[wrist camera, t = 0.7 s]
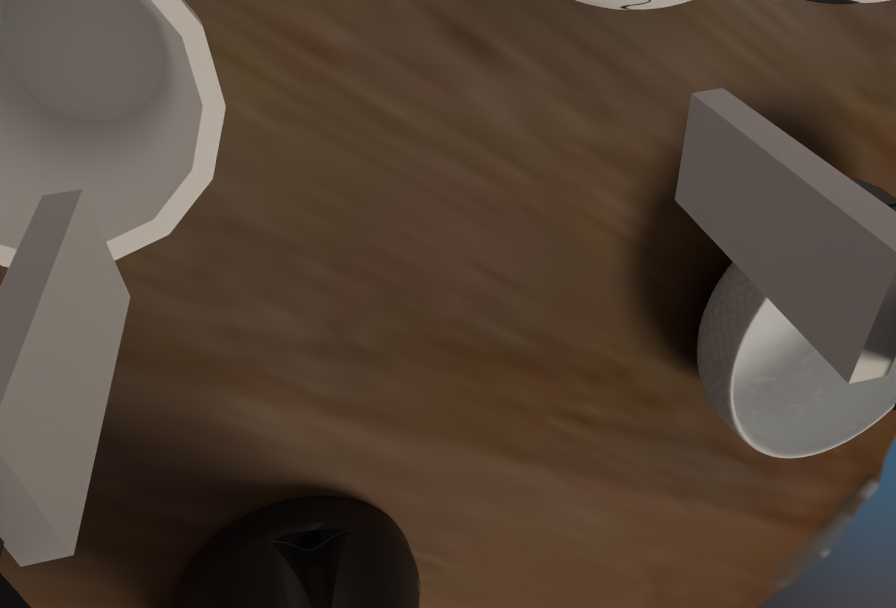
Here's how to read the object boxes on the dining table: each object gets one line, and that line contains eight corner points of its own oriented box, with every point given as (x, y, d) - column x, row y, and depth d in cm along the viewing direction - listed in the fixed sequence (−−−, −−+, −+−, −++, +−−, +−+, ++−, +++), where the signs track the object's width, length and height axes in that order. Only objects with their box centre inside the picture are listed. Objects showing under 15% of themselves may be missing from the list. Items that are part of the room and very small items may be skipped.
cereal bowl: (634, 261, 43) (707, 310, 38) (855, 132, 45) (959, 160, 39) (690, 441, 52) (756, 505, 46) (872, 329, 54) (959, 377, 48)
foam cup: (-40, -124, 26) (-202, -179, 15) (223, -40, 30) (251, -33, 19) (-52, 131, 29) (-192, 243, 18) (186, 178, 33) (192, 293, 22)
